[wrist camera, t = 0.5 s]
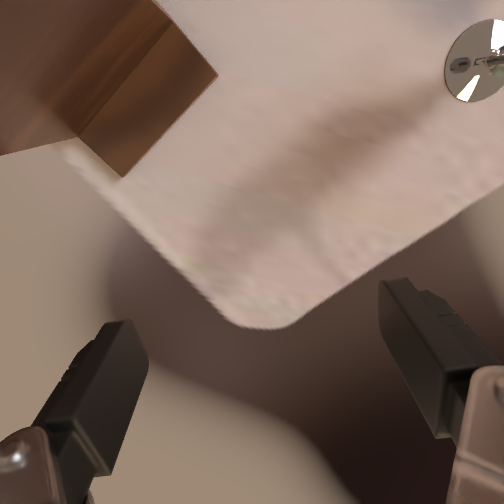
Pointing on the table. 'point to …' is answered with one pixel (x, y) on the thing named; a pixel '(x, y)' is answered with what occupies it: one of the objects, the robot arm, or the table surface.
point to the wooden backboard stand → (95, 76)
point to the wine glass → (477, 62)
